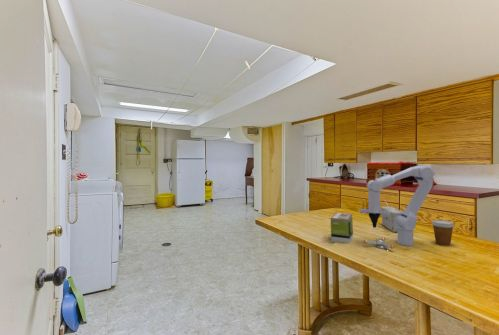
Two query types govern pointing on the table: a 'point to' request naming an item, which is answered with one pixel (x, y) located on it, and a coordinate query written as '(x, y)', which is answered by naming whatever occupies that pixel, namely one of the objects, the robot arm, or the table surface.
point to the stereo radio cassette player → (390, 218)
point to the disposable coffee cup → (443, 231)
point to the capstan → (380, 243)
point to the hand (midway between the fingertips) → (374, 227)
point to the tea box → (341, 227)
